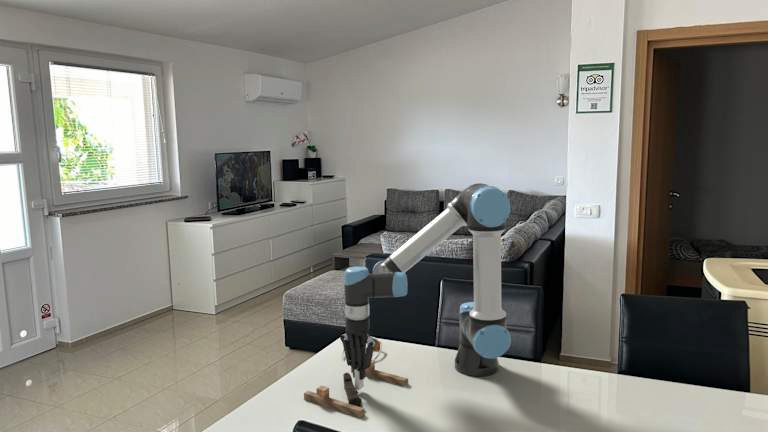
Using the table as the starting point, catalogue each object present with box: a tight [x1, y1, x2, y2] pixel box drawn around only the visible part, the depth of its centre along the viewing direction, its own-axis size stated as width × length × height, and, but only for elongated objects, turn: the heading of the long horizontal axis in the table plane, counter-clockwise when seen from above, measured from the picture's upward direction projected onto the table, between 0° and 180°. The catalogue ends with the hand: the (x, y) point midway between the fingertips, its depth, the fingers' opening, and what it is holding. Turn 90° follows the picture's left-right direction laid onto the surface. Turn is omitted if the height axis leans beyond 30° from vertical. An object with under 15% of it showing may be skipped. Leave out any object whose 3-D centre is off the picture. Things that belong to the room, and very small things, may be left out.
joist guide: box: [303, 359, 409, 419], centre depth 182 cm, size 22×26×5 cm
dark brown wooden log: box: [342, 371, 363, 408], centre depth 180 cm, size 19×4×5 cm, turn 10°
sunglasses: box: [342, 335, 383, 362], centre depth 212 cm, size 14×15×5 cm
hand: (359, 387), depth 182 cm, fingers closed
